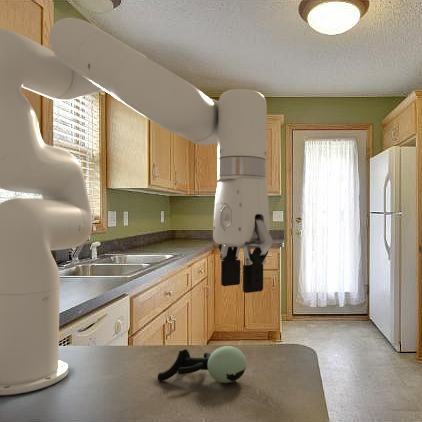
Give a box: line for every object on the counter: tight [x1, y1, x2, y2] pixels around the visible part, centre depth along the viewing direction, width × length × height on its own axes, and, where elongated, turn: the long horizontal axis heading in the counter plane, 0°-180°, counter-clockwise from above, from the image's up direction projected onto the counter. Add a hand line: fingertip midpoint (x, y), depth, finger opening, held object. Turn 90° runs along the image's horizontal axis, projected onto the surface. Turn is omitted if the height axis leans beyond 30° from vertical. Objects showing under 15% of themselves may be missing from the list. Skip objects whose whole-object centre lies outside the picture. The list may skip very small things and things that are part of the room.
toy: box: [157, 345, 247, 384], centre depth 68 cm, size 10×6×15 cm
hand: (241, 287), depth 59 cm, fingers open, 6 cm apart
